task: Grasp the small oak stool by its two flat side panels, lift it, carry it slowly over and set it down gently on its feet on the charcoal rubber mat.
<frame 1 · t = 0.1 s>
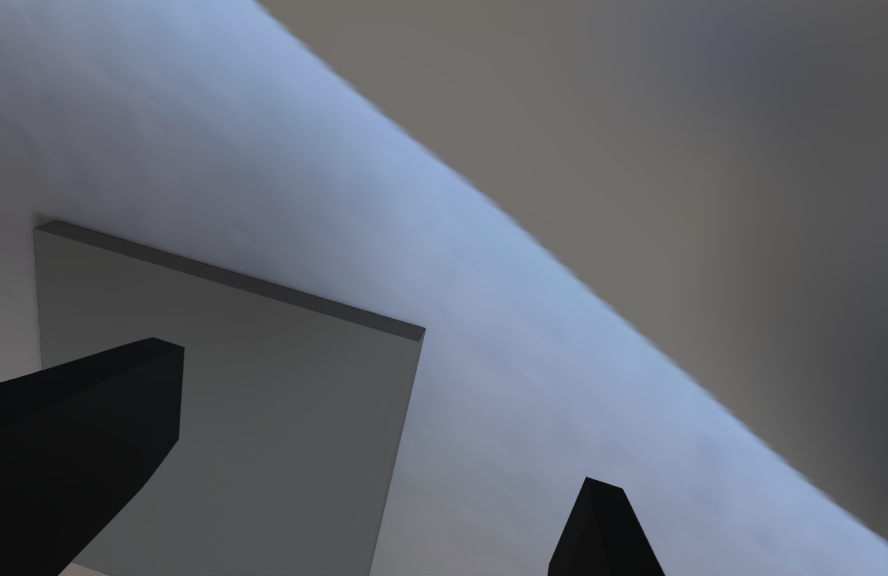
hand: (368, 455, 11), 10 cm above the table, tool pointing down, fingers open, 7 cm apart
charcoal mat: (220, 451, 25), on the table
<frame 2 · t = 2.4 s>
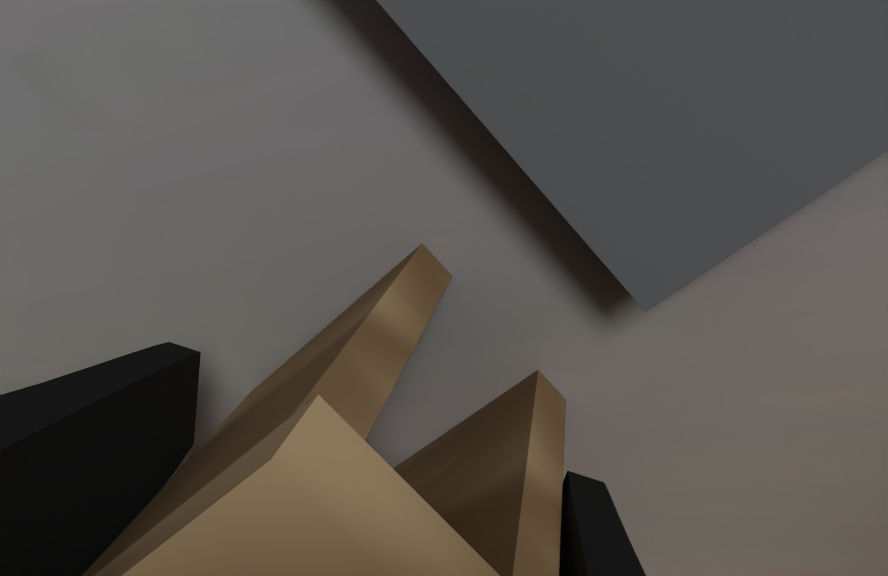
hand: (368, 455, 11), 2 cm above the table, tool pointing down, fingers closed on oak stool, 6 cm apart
oak stool: (398, 396, 12), on the table, touching gripper
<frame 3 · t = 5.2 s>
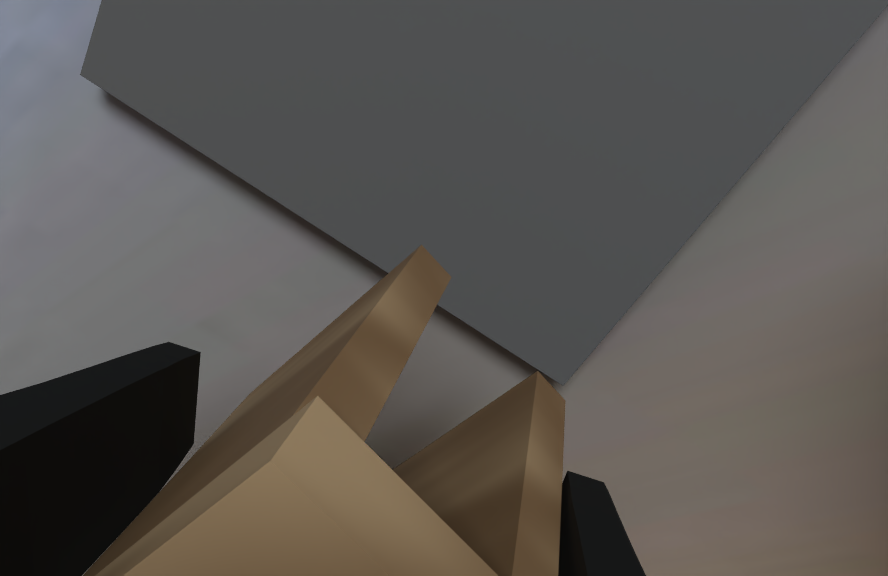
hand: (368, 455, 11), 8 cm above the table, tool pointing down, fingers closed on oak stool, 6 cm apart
oak stool: (398, 396, 12), point 6 cm above the table, touching gripper
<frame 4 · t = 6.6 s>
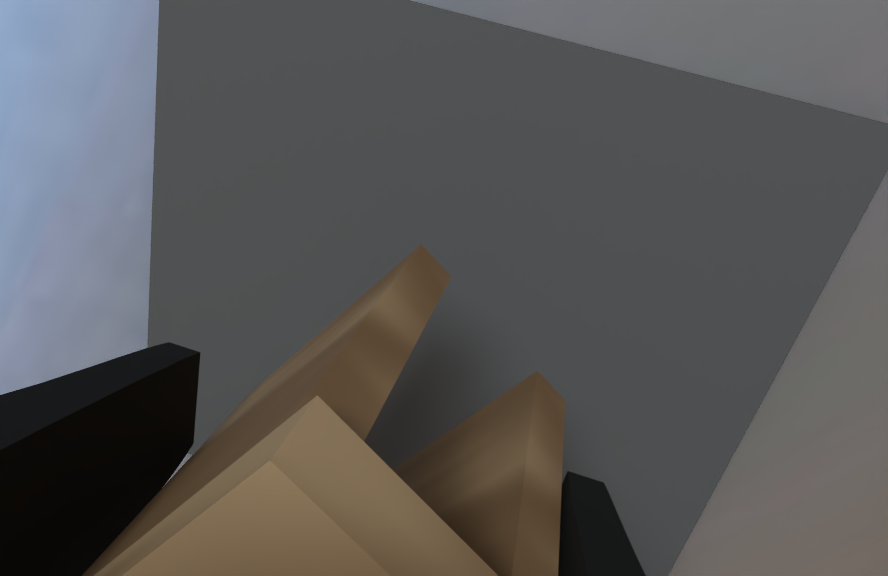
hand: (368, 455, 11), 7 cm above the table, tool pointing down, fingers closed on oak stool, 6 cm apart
oak stool: (398, 396, 12), point 5 cm above the table, touching gripper
charcoal mat: (446, 304, 17), on the table
when the fingers open (4 cm above the table, at t = 7.8 s): oak stool stays where it is, resting on charcoal mat.
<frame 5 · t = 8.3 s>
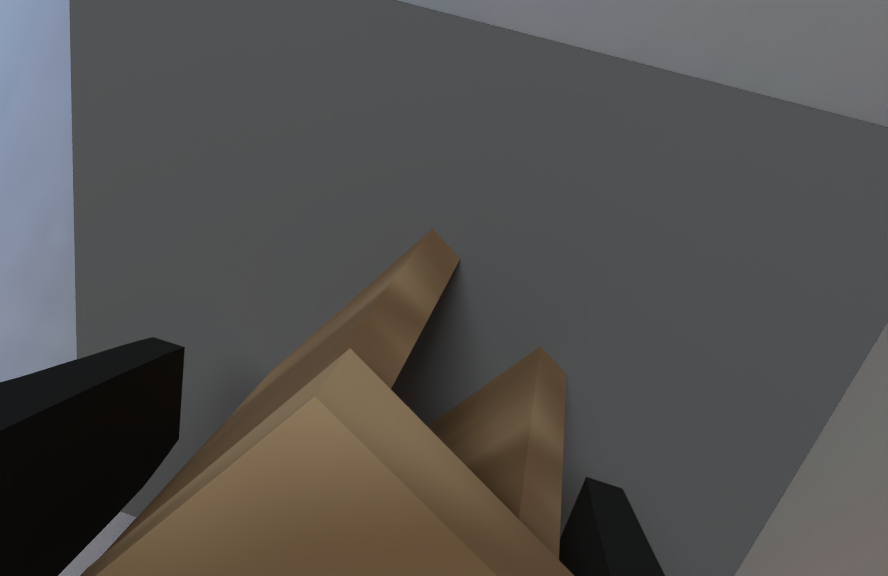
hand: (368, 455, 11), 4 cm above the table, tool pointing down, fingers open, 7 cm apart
oak stool: (410, 372, 13), point 1 cm above the table, touching charcoal mat
charcoal mat: (421, 350, 14), on the table
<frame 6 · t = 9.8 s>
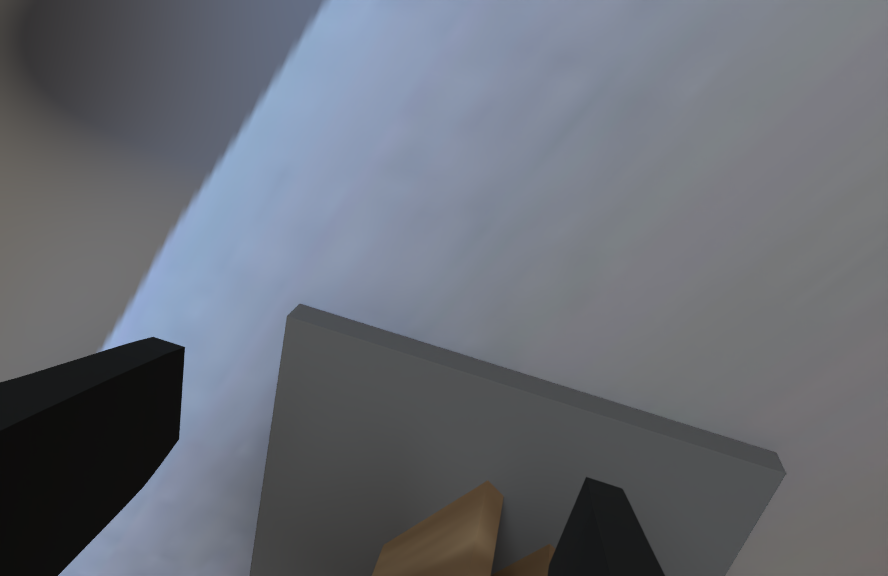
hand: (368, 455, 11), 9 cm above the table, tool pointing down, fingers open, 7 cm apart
oak stool: (471, 551, 22), point 1 cm above the table, touching charcoal mat
charcoal mat: (475, 531, 23), on the table
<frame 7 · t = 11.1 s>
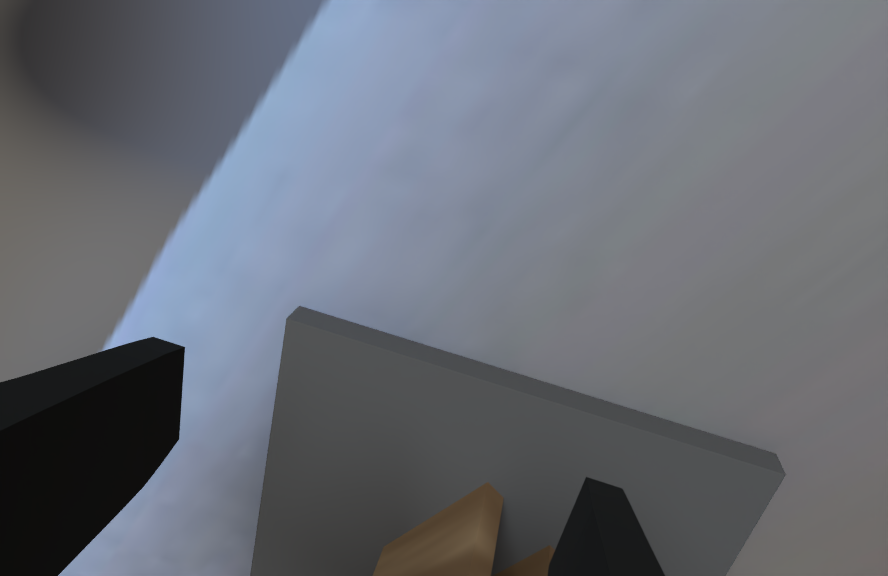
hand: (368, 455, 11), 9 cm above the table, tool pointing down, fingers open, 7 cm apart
oak stool: (471, 553, 22), point 1 cm above the table, touching charcoal mat
charcoal mat: (475, 532, 23), on the table
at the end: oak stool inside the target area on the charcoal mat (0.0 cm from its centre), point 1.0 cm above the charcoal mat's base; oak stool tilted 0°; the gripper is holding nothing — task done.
